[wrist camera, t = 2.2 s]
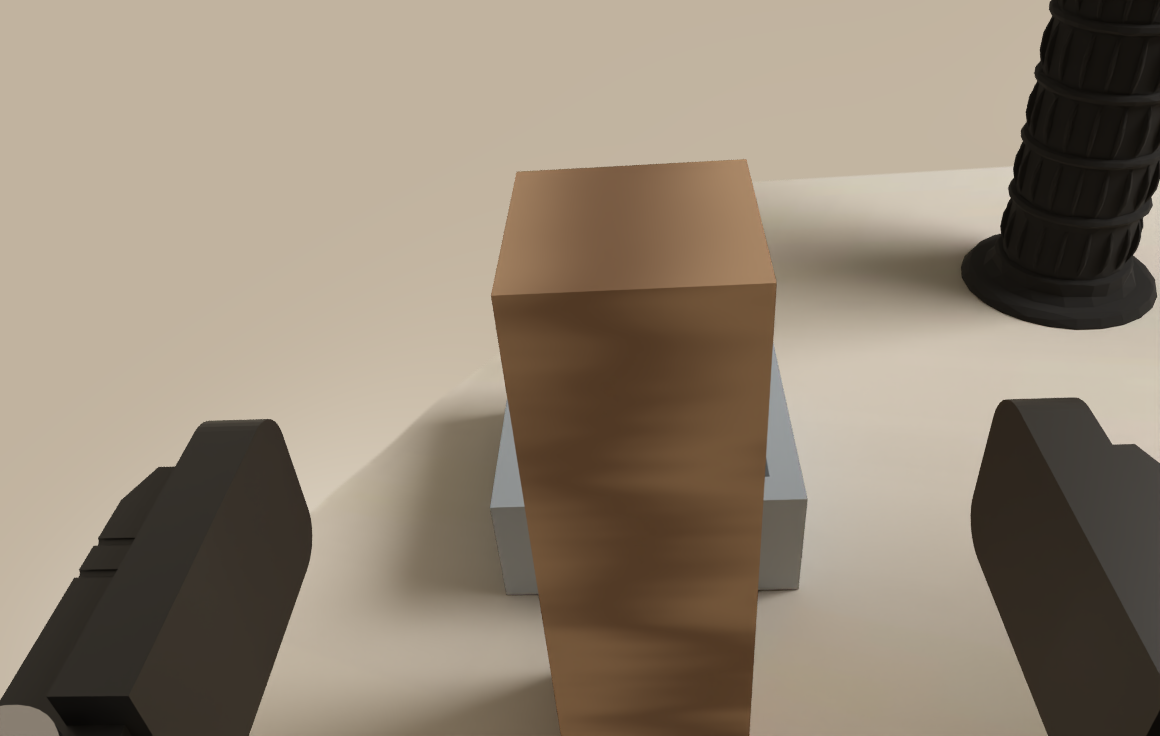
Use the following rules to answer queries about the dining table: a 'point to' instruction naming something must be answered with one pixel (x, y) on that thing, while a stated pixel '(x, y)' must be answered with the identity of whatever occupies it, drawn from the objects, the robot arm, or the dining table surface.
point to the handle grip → (1081, 174)
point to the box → (778, 520)
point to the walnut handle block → (641, 435)
